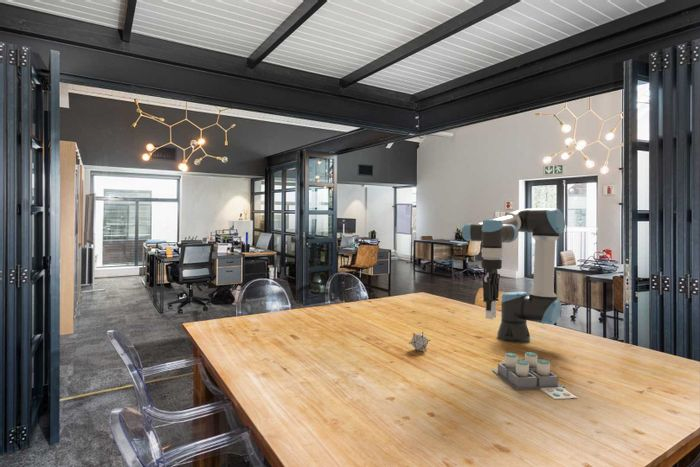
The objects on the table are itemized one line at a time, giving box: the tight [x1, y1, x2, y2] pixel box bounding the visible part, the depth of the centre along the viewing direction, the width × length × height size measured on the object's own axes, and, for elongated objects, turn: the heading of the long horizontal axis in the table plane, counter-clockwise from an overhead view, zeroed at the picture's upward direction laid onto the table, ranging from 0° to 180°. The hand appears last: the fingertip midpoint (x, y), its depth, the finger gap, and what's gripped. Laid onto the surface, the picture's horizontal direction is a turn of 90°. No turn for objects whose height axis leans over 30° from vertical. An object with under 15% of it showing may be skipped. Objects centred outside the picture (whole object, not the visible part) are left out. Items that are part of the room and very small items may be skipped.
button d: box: [524, 351, 538, 368], centre depth 153 cm, size 4×4×5 cm
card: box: [539, 387, 578, 400], centre depth 137 cm, size 8×8×1 cm
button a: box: [516, 359, 529, 377], centre depth 145 cm, size 4×4×5 cm
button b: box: [504, 352, 518, 369], centre depth 153 cm, size 4×4×5 cm
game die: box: [408, 331, 431, 353], centre depth 181 cm, size 9×8×10 cm
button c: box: [536, 358, 551, 376], centre depth 145 cm, size 4×4×5 cm
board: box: [492, 362, 566, 391], centre depth 149 cm, size 18×18×4 cm
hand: (490, 317), depth 158 cm, fingers open, 3 cm apart
